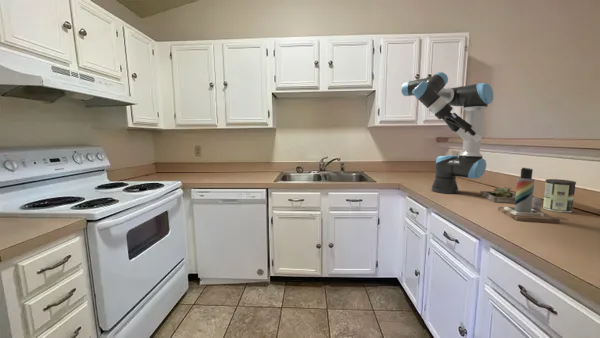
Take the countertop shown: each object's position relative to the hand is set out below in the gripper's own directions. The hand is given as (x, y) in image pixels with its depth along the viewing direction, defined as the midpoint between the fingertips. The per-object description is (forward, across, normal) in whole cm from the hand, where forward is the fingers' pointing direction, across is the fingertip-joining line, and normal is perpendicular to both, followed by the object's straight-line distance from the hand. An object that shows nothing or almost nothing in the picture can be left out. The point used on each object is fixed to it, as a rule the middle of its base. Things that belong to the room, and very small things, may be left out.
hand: (473, 139), depth 123 cm
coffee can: (+53, -8, +5) cm, 54 cm away
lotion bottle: (+36, +7, -9) cm, 38 cm away
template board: (+38, +7, -9) cm, 40 cm away
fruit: (+42, -28, -6) cm, 51 cm away
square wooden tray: (+43, -26, -5) cm, 50 cm away
